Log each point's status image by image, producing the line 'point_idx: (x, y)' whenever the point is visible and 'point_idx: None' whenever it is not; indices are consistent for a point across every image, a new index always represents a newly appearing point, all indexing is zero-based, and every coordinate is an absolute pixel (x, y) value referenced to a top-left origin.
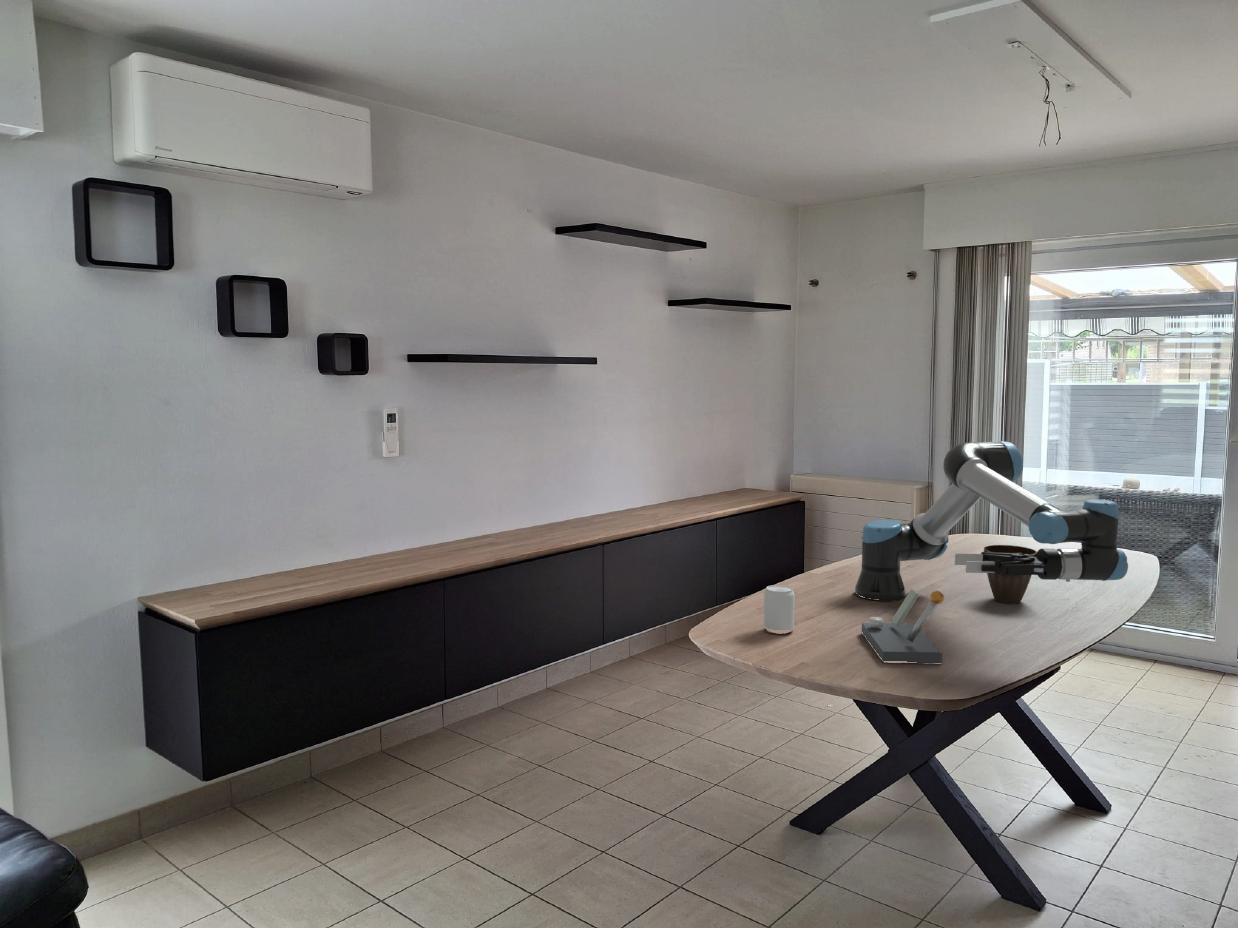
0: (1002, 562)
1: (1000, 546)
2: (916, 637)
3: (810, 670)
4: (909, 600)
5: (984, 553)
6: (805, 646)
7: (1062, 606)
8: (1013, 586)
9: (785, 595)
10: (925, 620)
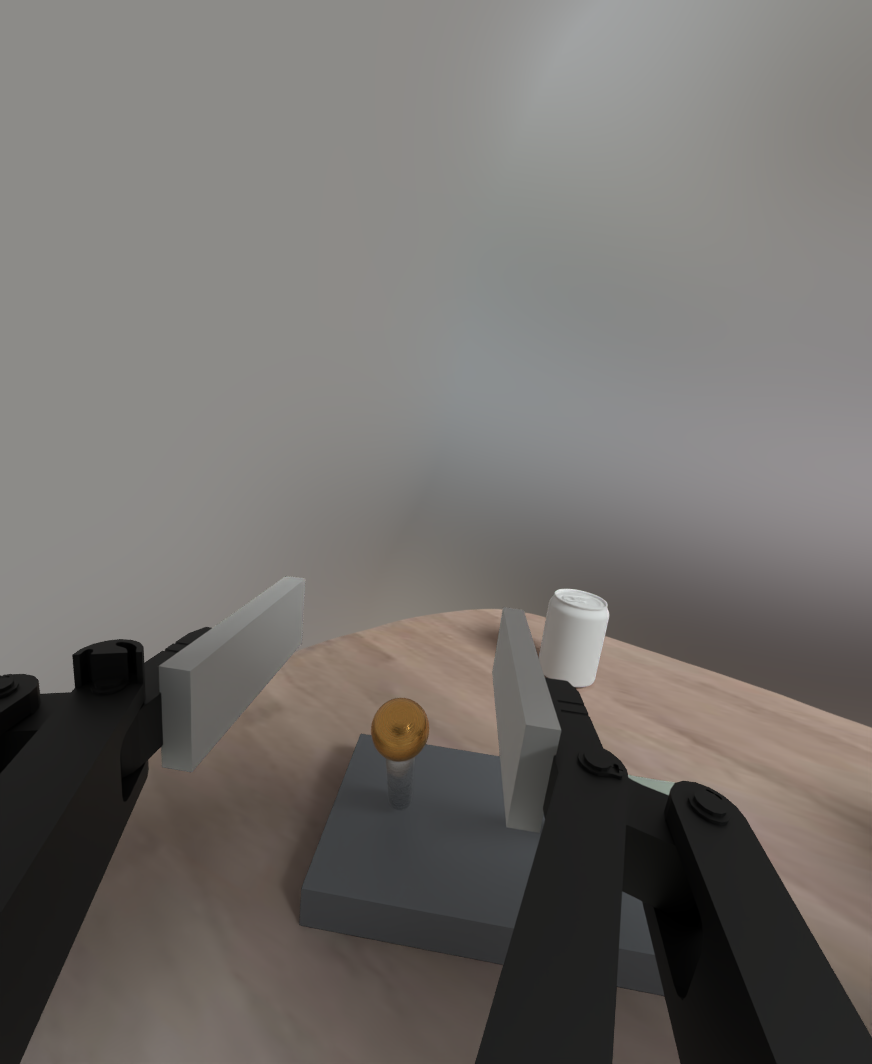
0: (97, 729)
1: None
2: (485, 874)
3: (352, 656)
4: None
5: (601, 766)
6: (478, 681)
7: None
8: None
9: (554, 604)
10: (387, 772)
